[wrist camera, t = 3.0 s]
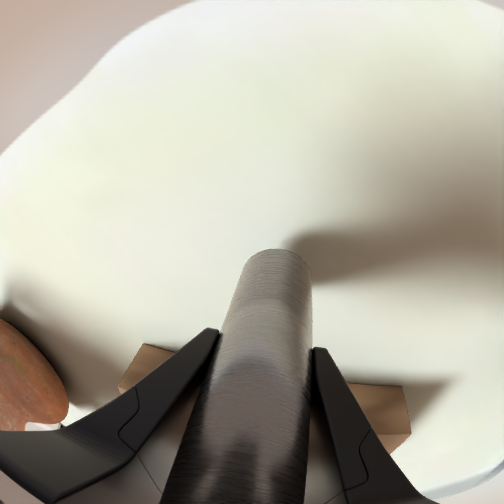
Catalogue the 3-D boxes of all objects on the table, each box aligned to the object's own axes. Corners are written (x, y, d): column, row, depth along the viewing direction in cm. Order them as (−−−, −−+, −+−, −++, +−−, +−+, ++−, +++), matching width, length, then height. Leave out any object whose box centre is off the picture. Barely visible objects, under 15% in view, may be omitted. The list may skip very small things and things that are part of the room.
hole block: (402, 386, 17) (411, 433, 13) (352, 447, 22) (352, 484, 18) (143, 343, 19) (117, 386, 15) (159, 415, 23) (144, 449, 20)
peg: (318, 255, 12) (318, 531, 3) (303, 313, 13) (283, 543, 4) (245, 243, 12) (142, 499, 3) (239, 301, 14) (166, 521, 5)
